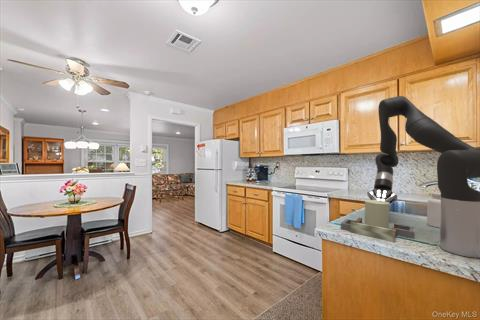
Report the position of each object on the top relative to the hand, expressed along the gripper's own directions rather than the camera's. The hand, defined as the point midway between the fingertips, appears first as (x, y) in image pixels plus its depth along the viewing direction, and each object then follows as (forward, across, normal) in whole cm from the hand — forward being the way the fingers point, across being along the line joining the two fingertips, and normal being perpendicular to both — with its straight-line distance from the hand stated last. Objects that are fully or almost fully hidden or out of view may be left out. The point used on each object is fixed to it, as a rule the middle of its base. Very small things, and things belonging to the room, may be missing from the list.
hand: (379, 210), depth 97 cm
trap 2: (+12, +9, -3) cm, 15 cm away
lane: (+15, 0, -6) cm, 16 cm away
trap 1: (+17, -9, -9) cm, 21 cm away
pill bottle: (-5, +21, +14) cm, 26 cm away
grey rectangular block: (+11, 0, -2) cm, 12 cm away
